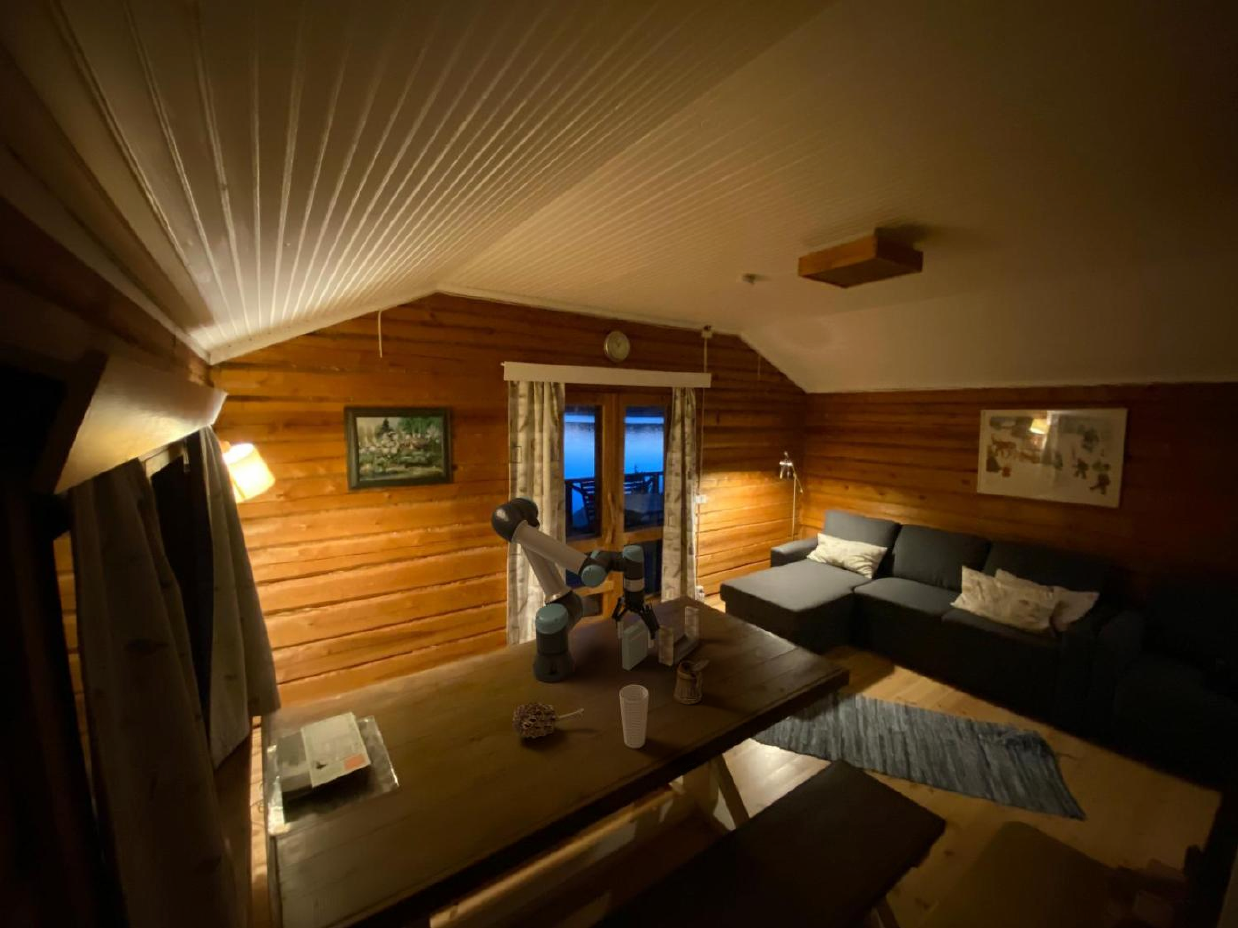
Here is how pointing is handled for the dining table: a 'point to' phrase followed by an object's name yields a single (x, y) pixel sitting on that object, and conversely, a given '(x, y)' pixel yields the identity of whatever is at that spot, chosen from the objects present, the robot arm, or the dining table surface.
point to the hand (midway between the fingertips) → (635, 641)
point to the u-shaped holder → (679, 639)
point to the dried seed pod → (538, 719)
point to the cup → (634, 714)
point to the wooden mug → (689, 681)
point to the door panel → (634, 644)
